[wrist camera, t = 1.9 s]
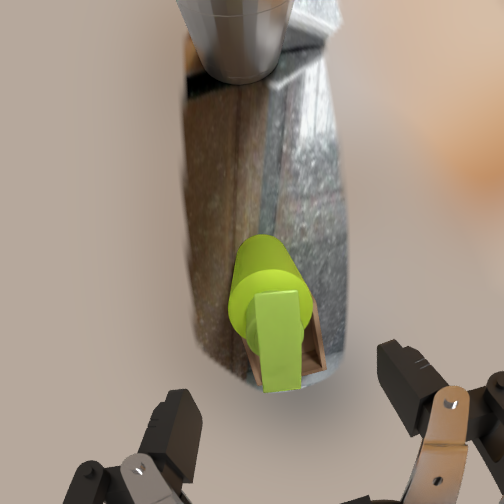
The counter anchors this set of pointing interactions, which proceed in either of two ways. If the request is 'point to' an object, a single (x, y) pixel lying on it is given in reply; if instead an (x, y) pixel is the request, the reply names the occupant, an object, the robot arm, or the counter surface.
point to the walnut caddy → (310, 349)
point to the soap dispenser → (270, 310)
